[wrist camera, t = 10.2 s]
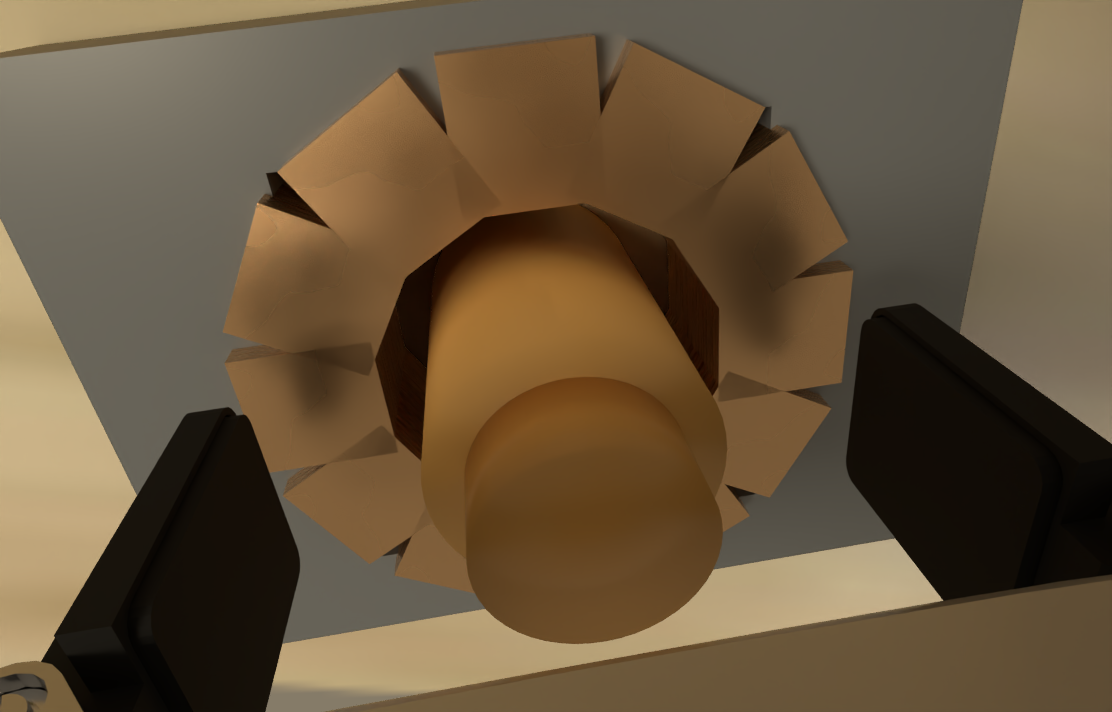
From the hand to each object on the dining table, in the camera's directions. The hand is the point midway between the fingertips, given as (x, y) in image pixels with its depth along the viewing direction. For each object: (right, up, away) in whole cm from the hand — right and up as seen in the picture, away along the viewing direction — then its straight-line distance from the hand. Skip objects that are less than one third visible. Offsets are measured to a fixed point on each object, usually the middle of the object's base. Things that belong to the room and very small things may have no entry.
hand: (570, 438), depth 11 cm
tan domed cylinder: (-1, +3, +5) cm, 6 cm away
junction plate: (-1, +3, +5) cm, 6 cm away
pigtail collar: (-1, +3, +5) cm, 6 cm away
